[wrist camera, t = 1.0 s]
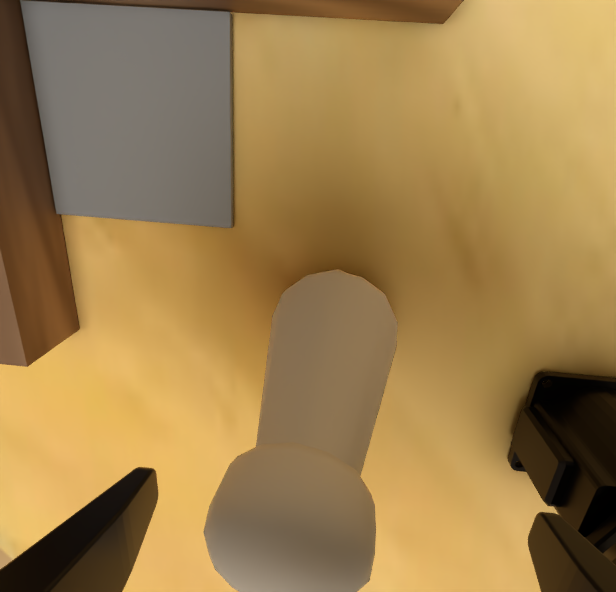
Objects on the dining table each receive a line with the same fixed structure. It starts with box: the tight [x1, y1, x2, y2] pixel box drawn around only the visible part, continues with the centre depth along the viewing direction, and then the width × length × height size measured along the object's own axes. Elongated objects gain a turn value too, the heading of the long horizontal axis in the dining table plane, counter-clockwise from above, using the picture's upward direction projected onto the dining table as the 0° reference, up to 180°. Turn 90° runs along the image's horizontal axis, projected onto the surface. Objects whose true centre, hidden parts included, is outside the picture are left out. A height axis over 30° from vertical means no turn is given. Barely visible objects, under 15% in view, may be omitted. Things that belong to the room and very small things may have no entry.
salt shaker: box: [204, 269, 398, 592], centre depth 15 cm, size 6×6×13 cm
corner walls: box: [0, 0, 463, 367], centre depth 17 cm, size 19×17×4 cm
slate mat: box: [20, 0, 233, 228], centre depth 18 cm, size 9×9×1 cm
